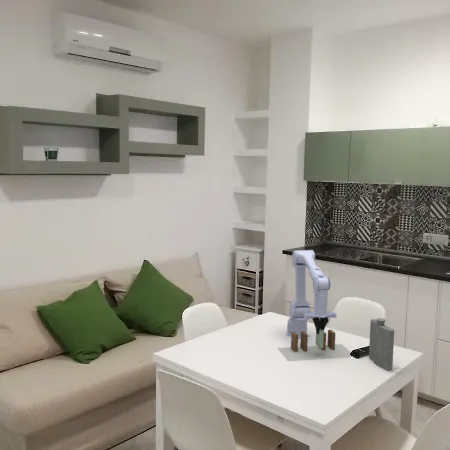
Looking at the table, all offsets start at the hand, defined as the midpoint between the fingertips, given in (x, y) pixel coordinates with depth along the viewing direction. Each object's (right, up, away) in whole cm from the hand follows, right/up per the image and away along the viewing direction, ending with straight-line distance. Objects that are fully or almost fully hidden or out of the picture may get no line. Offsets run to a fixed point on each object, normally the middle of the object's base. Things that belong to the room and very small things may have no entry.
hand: (319, 333), depth 228 cm
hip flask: (+25, -12, -7) cm, 28 cm away
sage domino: (0, -6, +1) cm, 6 cm away
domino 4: (+7, -9, +10) cm, 15 cm away
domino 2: (-6, -9, +8) cm, 13 cm away
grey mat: (-1, -10, +5) cm, 11 cm away
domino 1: (-10, -9, +7) cm, 15 cm away
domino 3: (+3, -9, +9) cm, 13 cm away
